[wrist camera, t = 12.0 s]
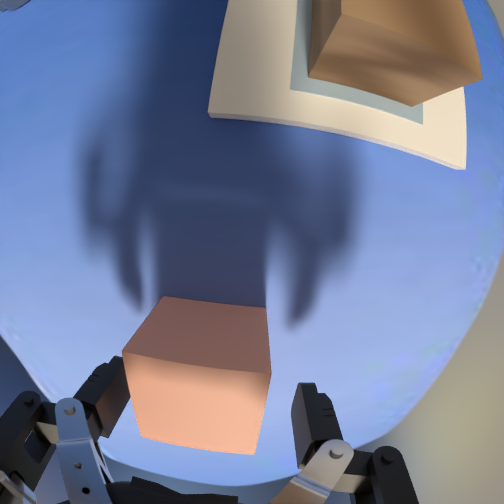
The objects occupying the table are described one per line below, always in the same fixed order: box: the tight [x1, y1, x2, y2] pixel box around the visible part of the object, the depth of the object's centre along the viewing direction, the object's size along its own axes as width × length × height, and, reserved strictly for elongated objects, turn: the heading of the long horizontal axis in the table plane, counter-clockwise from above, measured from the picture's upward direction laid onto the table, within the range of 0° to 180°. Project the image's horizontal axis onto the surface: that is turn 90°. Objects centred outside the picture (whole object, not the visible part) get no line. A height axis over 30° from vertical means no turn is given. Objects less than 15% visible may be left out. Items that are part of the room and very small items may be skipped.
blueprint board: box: [208, 0, 466, 169], centre depth 10 cm, size 14×14×1 cm
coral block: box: [122, 296, 272, 455], centre depth 12 cm, size 6×6×6 cm
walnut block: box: [308, 0, 483, 107], centre depth 7 cm, size 6×6×6 cm
